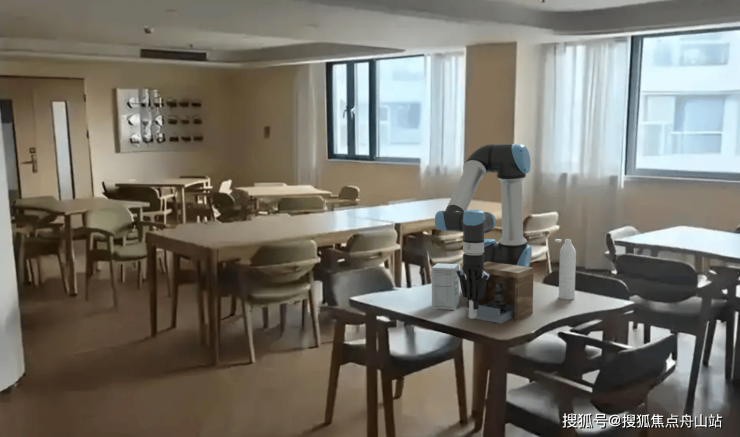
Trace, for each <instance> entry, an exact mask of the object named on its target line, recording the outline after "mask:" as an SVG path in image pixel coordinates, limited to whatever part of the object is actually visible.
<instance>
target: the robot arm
mask: <svg viewBox="0 0 740 437" xmlns="http://www.w3.org/2000/svg"><path fill="white" fill-rule="evenodd" d="M531 162H532V161H531V155H530V152H529V149H528V147H527V146H526V145H524V144H520V143H519V144H518V143H517V144H516V143H499V144H498V143H496V144H494V143H489V144H485V145H482V146H480V147H479V148H477V149H476V150H474V151H473V152H472V153H471V154H470V155H469V156H468V157H467V158H466V160H465V162H464V164H463V172H462V175H461V176H460V178H459V181H458V182H457V185H456V188H455V189H454V192H453V193H452V196H451V197H450V200H449V202H448V203H447V206H446V208H445V210H438V211H437V212H436V213H435V215H434V225H435V228H436V229H437V230H439V231H443V232H457V233H462V238H463V239H462V253H463V254H462V264H463V265H462V268H461V269H459V271H457V275H458V276H459V286H460V289H461V290H460V291H461V296H462V298H465V299H466V300H467V302H466V303H467V308H468V310H469V317H468V318H469V319H472V320H473V319H476V318H475V317H477V309H478V306H479V300H481V299H483V298H484V294H485V290H486V286H487V281H488V279H489V278H490V274H487V273H486V272H485V270H484V267H483V265H484V262H495V263H503V264H510V265H517V266H525V267H530V264H531V261H532V254H533V248H532V245H529V244H528V239H526V238H525V237H524V219H523V218H524V213H523V212H524V211H523V210H524V209H523V208H524V207H523V180H525V179H526V178H527V174H529V172H530V171H531V165H532V164H531ZM488 173H496V179H498V180H499V181H500V195H501V196H500V199H501V201H500V202H501V203H500V205H501V206H500V207H501V232H502V233H501V234H502V236H501V238H499V240H498V243H497V240H496V239H494V238H485V234H487V233H490V232H491V231H492V230H494V229H495V227H496V225H497V220H496V217H495V215H494V214H493V213H491V212H488V211H484V210H480V209H468V208H469V206H470V204H471V201H472V199H473V197H474V194H475V193H476V191H477V188H478V187H479V184H480V182H481V180H482V179H483V178H484V177H485V176H486V174H488ZM481 276H482V280H481V284H480V288H479V282H480V277H481ZM472 298H473V299H472Z"/></svg>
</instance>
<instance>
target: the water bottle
mask: <svg viewBox="0 0 740 437" xmlns="http://www.w3.org/2000/svg"><path fill="white" fill-rule="evenodd" d="M554 241H555V243H561V242H562V239H559V238H555V239H554ZM572 243H573V242H572V239H571V238H565V241H564V243H563V244H562V246H561V248H560V249H559V267H558V268H559V269H558V270H559V271H558V272H559V274H558V282H559V283H558V299H560V298H561V300H565V301H566V300H567V301H568V300H569V301H571V300H575V298H576V295H575V294H576V293H575V292H576V262H577V260H576V258H577V250H576V248H575V247H574V245H573V244H572Z"/></svg>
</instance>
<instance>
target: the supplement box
mask: <svg viewBox="0 0 740 437" xmlns="http://www.w3.org/2000/svg"><path fill="white" fill-rule="evenodd" d="M459 267H460V264H459V263H437V262H436V264H434V265H433V266H432V267H431V309H434V310H446V311H447V310H451V311H455V310H456V309H457V308H458V306H459V305H460V280H459V276H458V275H457V271H459V270H460V268H459Z"/></svg>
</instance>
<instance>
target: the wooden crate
mask: <svg viewBox="0 0 740 437" xmlns="http://www.w3.org/2000/svg"><path fill="white" fill-rule="evenodd" d="M483 267H484V270H485V272H486V273H487V274H490V278H489V279H488V281H487V286H486V290H485V294H484V298H483V299H481V300H479V305H483V304H486V303H488V302H491V301H494V300H495V291H496V284H497V283H499V281H500V283H502V284H503V292H504V293H503V299H504V301H506V302H507V303H506V304H508V305H514V306H515V317H514V318H513V319H514V321H516V320H517V321H520V320H522V319H525V318H526V316H527V317H529V316H531V315H533V314H534V311H533V307H534V273H535V272H534V267H530V266H529V267H525V266H517V265H510V264H503V263H495V262H484V265H483ZM481 280H482V276H481V277H480V282H479V288H480V284H481ZM472 299H473V298H472Z"/></svg>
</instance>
